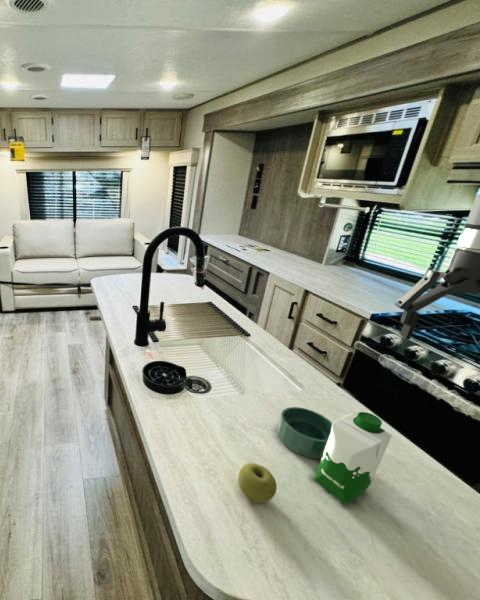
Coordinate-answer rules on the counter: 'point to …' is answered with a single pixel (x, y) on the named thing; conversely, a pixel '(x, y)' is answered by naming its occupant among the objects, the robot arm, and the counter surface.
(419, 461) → the counter surface
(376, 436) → the soya milk
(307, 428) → the green bowl
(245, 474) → the apple
